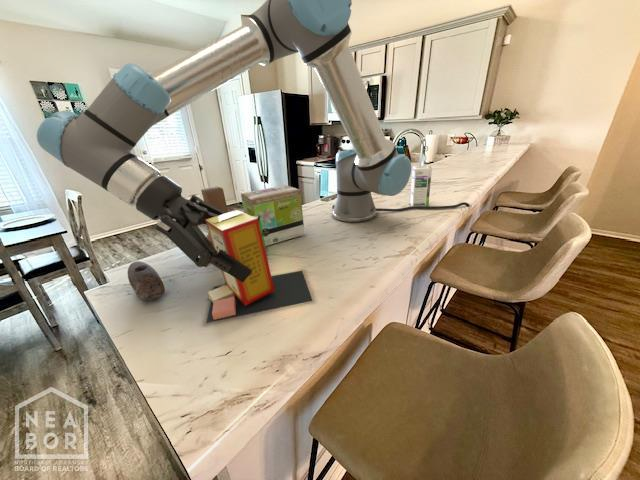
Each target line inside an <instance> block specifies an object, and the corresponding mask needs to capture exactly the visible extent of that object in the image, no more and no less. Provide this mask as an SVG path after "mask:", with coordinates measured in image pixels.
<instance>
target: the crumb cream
mask: <svg viewBox="0 0 640 480" xmlns="http://www.w3.org/2000/svg"><path fill="white" fill-rule="evenodd" d="M223 285H224V286H222V285H220V286H221V287H219V288H217V289H214V288H213V289H212V290H209V291H207V296H208V298H209V300H210V302H211V301H212V302H213V303H214V301H217V300H221V299H226V298H230V297H234V293H233V291H232V290H231V289H230V288H229V287H228V286H227V285H226V284H223Z"/></svg>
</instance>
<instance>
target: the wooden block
mask: <svg viewBox="0 0 640 480" xmlns="http://www.w3.org/2000/svg"><path fill="white" fill-rule="evenodd" d="M201 196H202V199H203V201H204V202H206V203H208V204H210V205H212V206H214V207H216V208H218V209H220V210H222V211H224V212H226V213H228V212H229V209H228V205H227V201H226V196H225V191H224V189H223V187H220V186H217V185H215V186H210V187H206V188H202V189H201ZM205 236H206V238H207V239H208V240H209V241H210V243H211V244H212V245H213V243H212V240H211V237H210V234H209V232H208V233H207V234H206V235H205ZM213 247H214V246H213ZM208 252H209V251H208Z"/></svg>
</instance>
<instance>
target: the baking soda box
mask: <svg viewBox="0 0 640 480" xmlns="http://www.w3.org/2000/svg"><path fill="white" fill-rule="evenodd" d="M205 221H206V224H207V225H206V227H207V230H208V233H209V234H210V237H211V240H212V243H213V246H214V248H215V249H216V251H217V252H219V251H220V250H222V251H223V252H225V253H226V254H228V255H230V256H231V257H233V258H234V259H236V260H237V261H239V262H240V263H242V264H243V265H245V266H247V267H248V268H250V269H251V270H252V273H251V274H250V275H249V276H248V277H247V278H246V280H245V281H244V282H241V281H239V280H238V279H236V278H235V277H233V276H231V275H230V274H228V273H227V272H224V271H222V270H221V273H222V276H223V279H224V282H225V285H227V286H228V287H229V288H230V289H231V290H232V291H233V293H234V295H235V296H236V297H237V298H238V299H239V300H240V301H241V302H242V303H243V304H244V305H245V306H246V305H248V304H250V303H252V302H254V301H256V300H257V299H259V298H261V297H263V296H265V295H267V294H269V293H271V292H273V291H275V290H274V285H273V281H272V277H271V276H272V273H271V269H270V265H269V260H268V257H267V252H266V247H265V248H264V243H263V239H262V235H261V231H260V227H259V222H258V219H257V218H255V217H253V216H250V215H248V214H246V213H244V211H243V210H242V211H241V210H239V209H234V210H231V211H228V213H224V214H221V215H218V216H215V217H212V218H208V219H205ZM217 254H218V253H217Z"/></svg>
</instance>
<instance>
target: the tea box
mask: <svg viewBox="0 0 640 480" xmlns="http://www.w3.org/2000/svg"><path fill="white" fill-rule="evenodd" d="M240 197H241V203H242V210H243V212H244V213H246V214H248V215H250V216H260V220H261V225H262V233H263V237H264V242H265V247H267V246H270V245H275V244H277V243H281V242H284V241H289V240H291V239H295V238H298V237H302V236H305V224H304V214H303V202H302V191H301V189H299V188H296V187H293V186H289V185H287V184H283V185H279V186H273V187H267V188H262V189H256V190H252V191H246V192H241V193H240Z"/></svg>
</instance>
